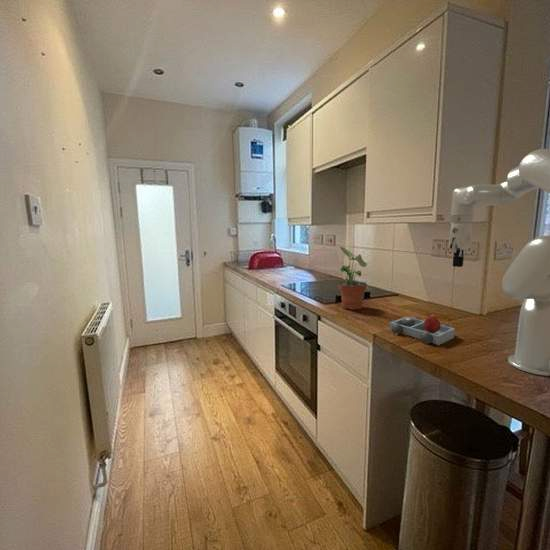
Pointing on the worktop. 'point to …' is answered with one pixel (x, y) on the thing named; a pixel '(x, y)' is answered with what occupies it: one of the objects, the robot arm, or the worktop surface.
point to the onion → (432, 324)
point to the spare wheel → (408, 322)
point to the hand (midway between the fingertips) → (457, 266)
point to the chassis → (423, 331)
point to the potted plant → (352, 284)
